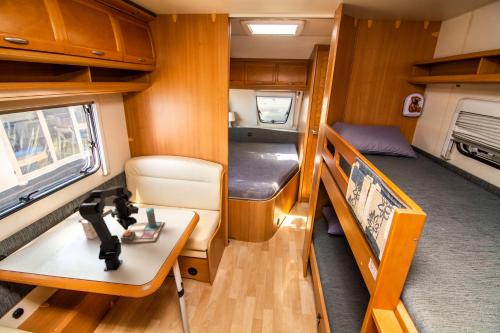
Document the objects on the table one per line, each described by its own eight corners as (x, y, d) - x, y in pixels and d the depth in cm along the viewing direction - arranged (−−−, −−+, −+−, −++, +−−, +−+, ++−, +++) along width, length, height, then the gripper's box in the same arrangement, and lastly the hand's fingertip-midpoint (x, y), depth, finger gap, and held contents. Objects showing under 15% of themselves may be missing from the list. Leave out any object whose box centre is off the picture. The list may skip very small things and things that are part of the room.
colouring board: (155, 242, 133) (154, 236, 132) (120, 244, 132) (118, 238, 130) (164, 222, 152) (163, 217, 151) (133, 224, 150) (132, 219, 149)
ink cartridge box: (97, 230, 145) (91, 210, 140) (103, 230, 144) (98, 211, 139) (85, 238, 137) (79, 217, 132) (92, 239, 136) (86, 218, 131)
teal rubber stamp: (156, 227, 145) (153, 210, 141) (149, 229, 144) (145, 212, 139) (156, 223, 149) (153, 207, 145) (148, 225, 148) (145, 208, 143)
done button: (129, 237, 133) (128, 233, 132) (124, 238, 133) (123, 233, 132) (132, 234, 136) (131, 230, 135) (126, 234, 136) (125, 230, 135)
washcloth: (77, 222, 154) (75, 218, 153) (100, 209, 170) (99, 205, 169) (90, 225, 151) (88, 221, 150) (112, 211, 167) (111, 208, 166)
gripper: (143, 205, 128) (147, 229, 133) (127, 196, 139) (132, 218, 144) (123, 214, 120) (129, 238, 125) (108, 204, 130) (113, 226, 136)
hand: (126, 229), depth 133 cm, fingers closed
